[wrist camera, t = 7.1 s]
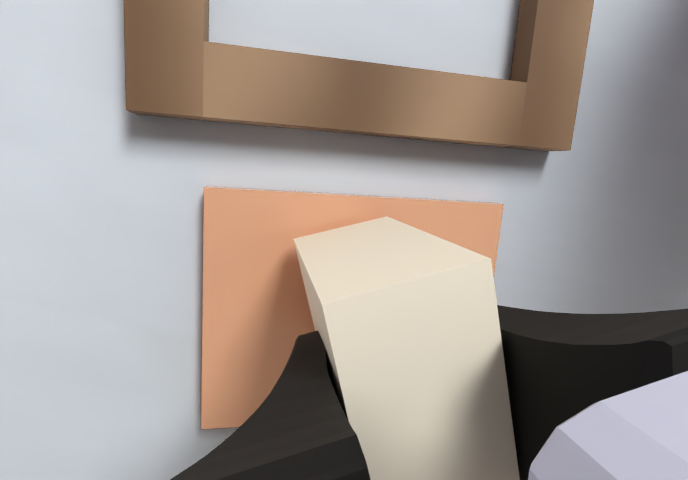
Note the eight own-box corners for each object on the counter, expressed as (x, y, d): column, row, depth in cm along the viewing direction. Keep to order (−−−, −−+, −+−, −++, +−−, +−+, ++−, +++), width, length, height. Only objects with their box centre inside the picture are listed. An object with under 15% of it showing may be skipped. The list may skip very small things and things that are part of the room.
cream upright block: (387, 216, 13) (490, 258, 7) (417, 384, 14) (527, 537, 8) (293, 239, 12) (322, 304, 7) (334, 410, 14) (388, 591, 8)
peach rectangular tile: (494, 202, 15) (503, 204, 14) (468, 404, 16) (475, 413, 16) (206, 186, 13) (204, 187, 12) (203, 418, 14) (201, 429, 14)
